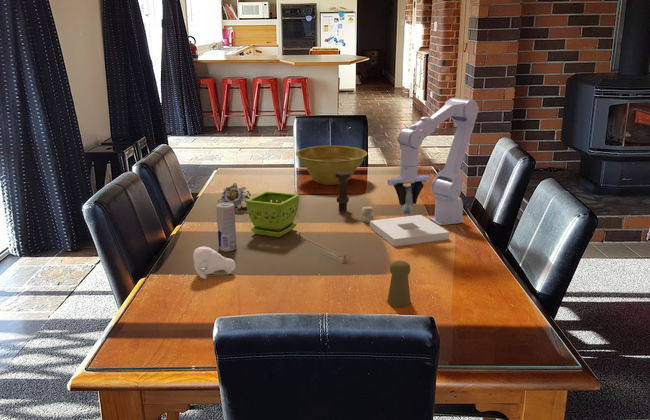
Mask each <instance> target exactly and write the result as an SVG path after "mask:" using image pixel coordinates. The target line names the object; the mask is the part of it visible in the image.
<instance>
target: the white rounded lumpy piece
mask: <svg viewBox="0 0 650 420" xmlns="http://www.w3.org/2000/svg"><path fill="white" fill-rule="evenodd" d="M192 258H193V263H194V269H195V271H196V273H197V275H198V276H199V277H200V278H201V279H204V280H206V279H207V275H210V274H212V273H214V272H218V271H224V272H225V273H226V275H227V276H228V275H229V274H232V273H233V271H234V270H235V269H236V262H235V260H234V259H232V258H227V257H225V256H222V254H221V253H219V252H218V251H216V250H214V249H213V248H211V247H210V246H199V247H197V248H195V249H194V251H193V254H192Z"/></svg>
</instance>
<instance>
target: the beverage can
mask: <svg viewBox="0 0 650 420" xmlns="http://www.w3.org/2000/svg"><path fill="white" fill-rule="evenodd" d="M235 209H236V208H234V204H233V203H228V202H226V203H224V202H223V203H218V204H216V225H217V239H218V240H217V241H218V250H220V251H222V252H226V253H227V252H233V251H234V250H236V249H237V232H236V230H237V229H236V214H235V211H236V210H235Z"/></svg>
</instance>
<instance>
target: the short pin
mask: <svg viewBox="0 0 650 420" xmlns="http://www.w3.org/2000/svg"><path fill="white" fill-rule="evenodd" d="M373 220H374V207H372V206H367V205H366V206H363V207H362V209H361V223H365V224H370V221H373Z"/></svg>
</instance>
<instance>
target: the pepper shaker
mask: <svg viewBox="0 0 650 420" xmlns="http://www.w3.org/2000/svg"><path fill="white" fill-rule="evenodd" d="M389 272H390V274H391V278H390V283H389V289H388V290H389V291H388V296H387V300H386V301H387V302H388V303H389V304H390V306H391V305H392V307H394V306H396V307H395V308H406V307H408V306H410V305H411V302H412V301H411V292H410V283H409V274H410V273H411V266H410V264H409V262H407V261H404V260H395V261H393V262H391V264H390V265H389ZM388 303H387V304H388ZM389 304H388V305H389Z"/></svg>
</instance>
